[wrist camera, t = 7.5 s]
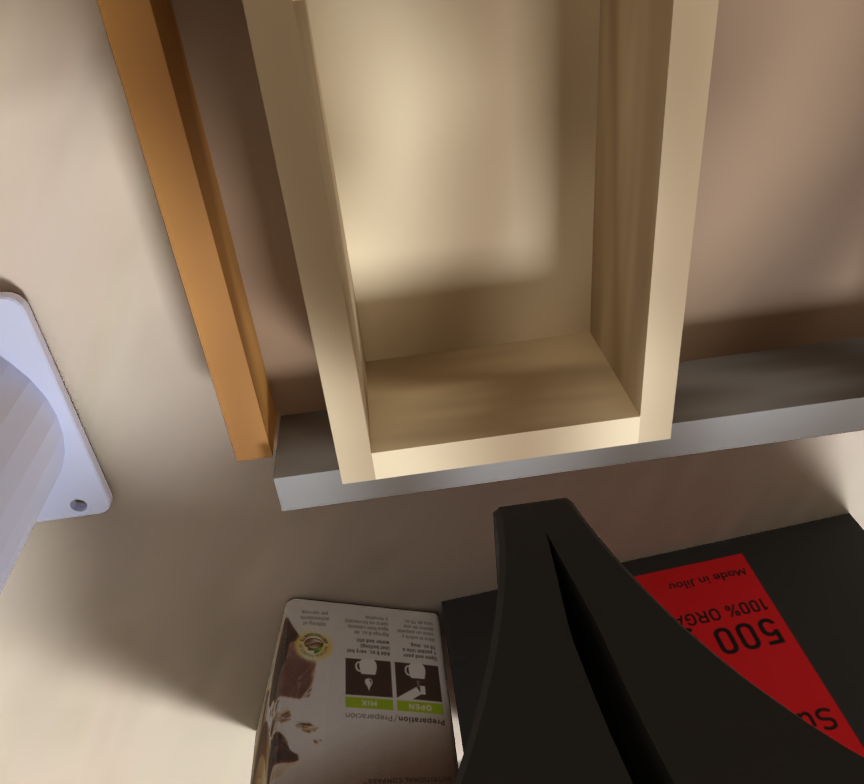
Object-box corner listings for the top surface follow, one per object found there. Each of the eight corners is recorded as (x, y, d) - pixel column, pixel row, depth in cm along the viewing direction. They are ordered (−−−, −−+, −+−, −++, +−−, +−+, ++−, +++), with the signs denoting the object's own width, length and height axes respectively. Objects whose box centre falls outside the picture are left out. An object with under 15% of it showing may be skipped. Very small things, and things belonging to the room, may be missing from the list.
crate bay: (253, 433, 24) (230, 570, 19) (78, -187, 15) (-49, -235, 10) (905, 344, 25) (1048, 454, 20) (1100, -293, 16) (1445, -385, 11)
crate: (342, 374, 22) (342, 484, 18) (260, -61, 16) (231, -50, 12) (607, 339, 22) (670, 438, 18) (628, -102, 16) (730, -106, 12)
